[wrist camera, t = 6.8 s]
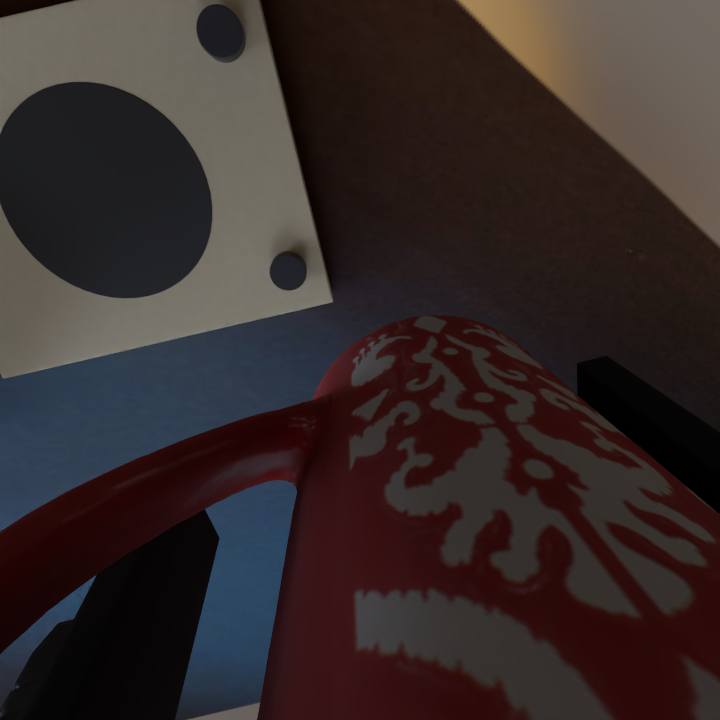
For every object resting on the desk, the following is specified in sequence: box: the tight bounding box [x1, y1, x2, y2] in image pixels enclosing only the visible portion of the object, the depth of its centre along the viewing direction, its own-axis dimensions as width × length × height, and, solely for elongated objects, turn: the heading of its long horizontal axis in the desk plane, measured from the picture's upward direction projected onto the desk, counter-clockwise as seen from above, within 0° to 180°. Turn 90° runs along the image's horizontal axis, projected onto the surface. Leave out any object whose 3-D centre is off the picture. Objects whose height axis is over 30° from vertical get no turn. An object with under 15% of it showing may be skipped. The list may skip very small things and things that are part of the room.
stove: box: [0, 0, 333, 378], centre depth 23 cm, size 20×16×3 cm
